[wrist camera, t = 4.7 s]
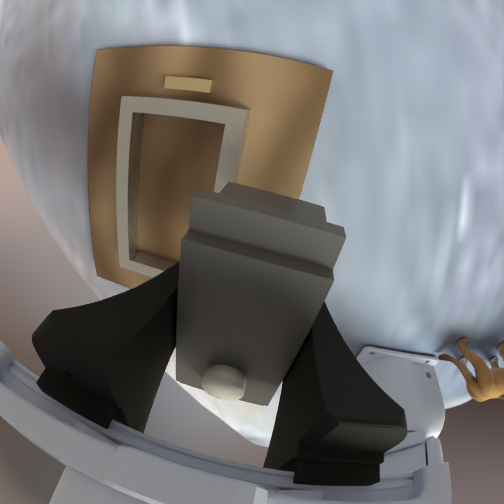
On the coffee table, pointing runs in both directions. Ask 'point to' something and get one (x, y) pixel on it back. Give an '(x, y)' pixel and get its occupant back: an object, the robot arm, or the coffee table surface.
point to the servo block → (250, 288)
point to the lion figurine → (480, 373)
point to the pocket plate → (189, 143)
